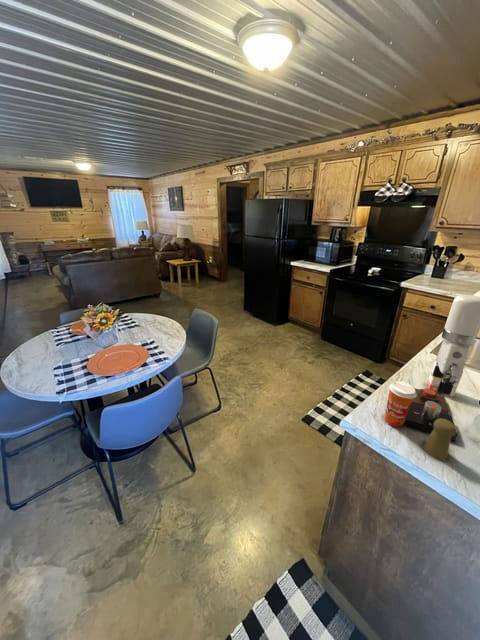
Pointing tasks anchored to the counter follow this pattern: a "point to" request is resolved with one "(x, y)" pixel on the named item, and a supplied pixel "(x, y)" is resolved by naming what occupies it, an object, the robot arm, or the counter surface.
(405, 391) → the paper cup
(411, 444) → the counter surface
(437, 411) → the knob
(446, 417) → the panel
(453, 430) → the cork
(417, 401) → the button block
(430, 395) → the button
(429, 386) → the ink cartridge box
